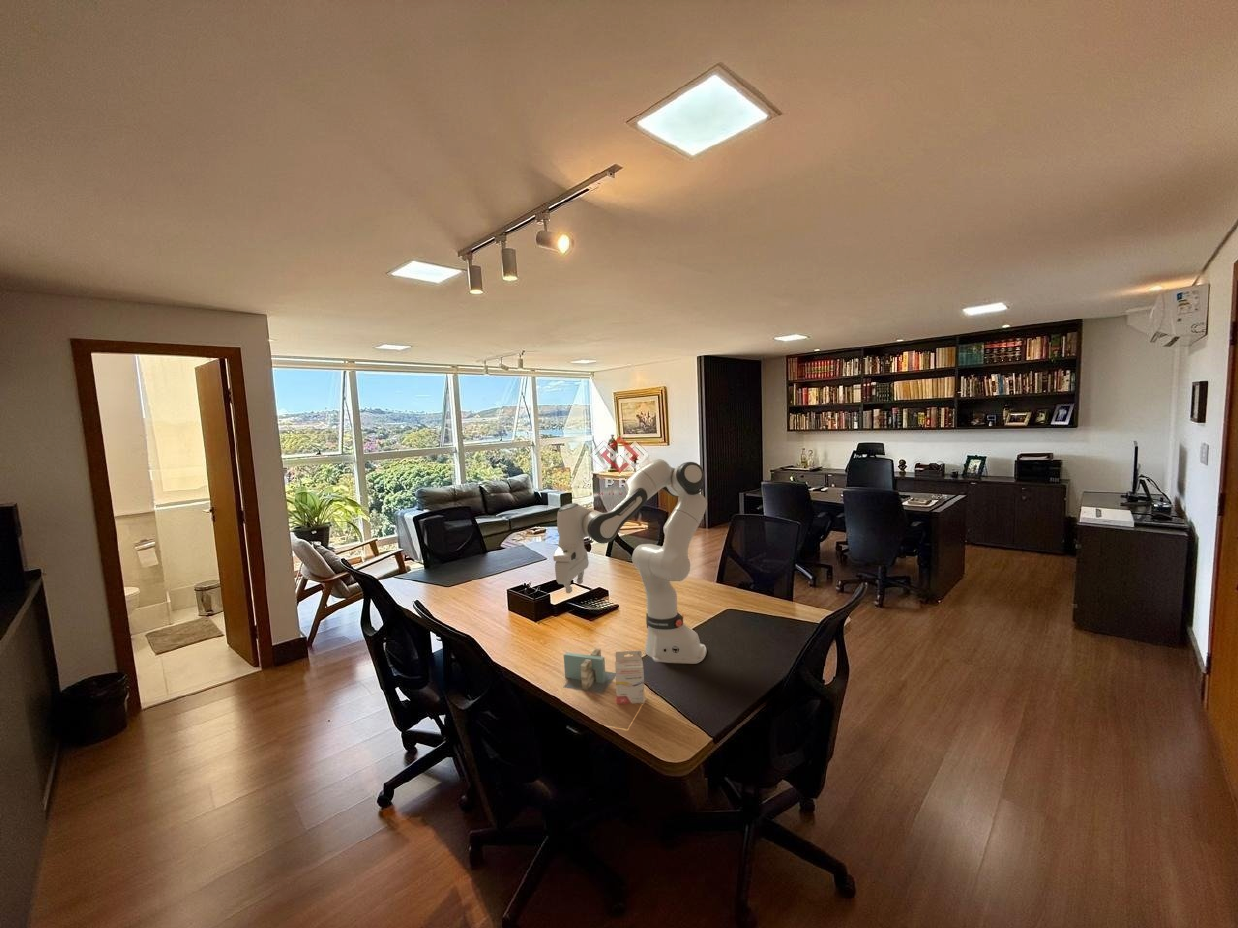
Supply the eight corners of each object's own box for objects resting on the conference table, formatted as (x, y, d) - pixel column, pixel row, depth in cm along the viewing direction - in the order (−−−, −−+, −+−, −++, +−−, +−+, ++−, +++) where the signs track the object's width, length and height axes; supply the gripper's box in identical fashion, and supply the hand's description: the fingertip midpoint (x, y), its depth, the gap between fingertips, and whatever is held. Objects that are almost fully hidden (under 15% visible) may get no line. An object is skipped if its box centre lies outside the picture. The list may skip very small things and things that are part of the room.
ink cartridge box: (617, 705, 149) (614, 658, 147) (616, 696, 154) (614, 651, 152) (645, 704, 149) (643, 657, 148) (644, 694, 154) (641, 649, 153)
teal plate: (605, 680, 163) (604, 657, 162) (603, 683, 161) (602, 659, 160) (567, 674, 168) (566, 652, 167) (565, 677, 166) (563, 654, 165)
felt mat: (617, 674, 167) (617, 673, 167) (602, 694, 155) (602, 693, 155) (580, 668, 172) (580, 667, 172) (563, 688, 160) (562, 686, 160)
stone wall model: (596, 670, 169) (595, 648, 169) (601, 671, 169) (600, 649, 168) (582, 689, 158) (580, 665, 157) (587, 689, 158) (585, 665, 157)
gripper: (575, 541, 185) (578, 577, 187) (550, 557, 166) (554, 597, 168) (591, 542, 183) (593, 578, 185) (567, 558, 164) (571, 598, 165)
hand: (574, 587), depth 176 cm, fingers open, 8 cm apart
